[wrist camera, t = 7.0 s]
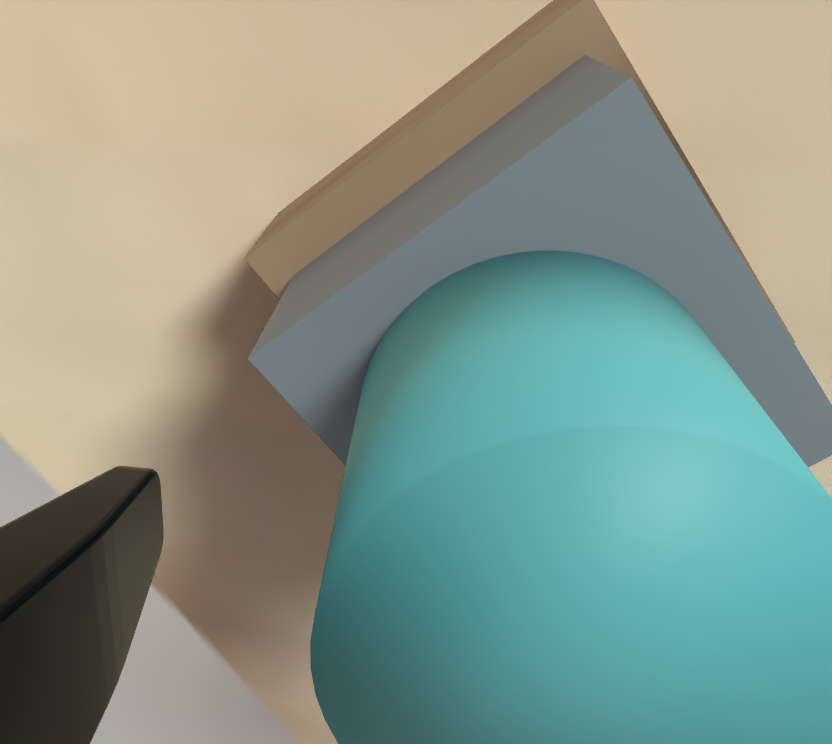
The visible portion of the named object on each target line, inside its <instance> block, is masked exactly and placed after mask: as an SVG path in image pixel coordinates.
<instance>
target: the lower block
mask: <svg viewBox="0 0 832 744" xmlns="http://www.w3.org/2000/svg"><path fill="white" fill-rule="evenodd" d="M584 55H586V56H589V57H591V58H593V59H595V60H597V61H599V62H601V63H603V64H605V65H607V66H610V67H612V68H614V69H616V70H618V71H620V72H622V73H624V74H626V75H628V76H630V77H632V78H633V80H634V82H635V83H636V85H637V87H638V88H639V90H640V92H641V93H642V95H643V97H644V98H645V100H646V101H647V103H648V105H649V106H650V108H651V110H652V111H653V113H654V115H655V116H656V118H657V119H658V121H659V123H660V124H661V126H662V128H663V129H664V131H665V133H666V134H667V136H668V138H669V139H670V141H671V142H672V144H673V146H674V147H675V149H676V151H677V152H678V154H679V156H680V157H681V159H682V160H683V162H684V164H685V165H686V167H687V169H688V170H689V172H690V174H691V175H692V177H693V179H694V180H695V182H696V183H697V185H698V187H699V188H700V190H701V192H702V193H703V195H704V197H705V198H706V200H707V201H708V203H709V205H710V206H711V208H712V210H713V211H714V213H715V215H716V216H717V218H718V220H719V221H720V223H721V224H722V226H723V228H724V229H725V231H726V233H727V234H728V236H729V238H730V239H731V241H732V242H733V244H734V246H735V247H736V249H737V251H738V252H739V254H740V256H741V257H742V259H743V261H744V262H745V264H746V265H747V267H748V269H749V270H750V272H751V274H752V275H753V277H754V279H755V280H756V282H757V284H758V285H759V287H760V288H761V290H762V292H763V293H764V295H765V297H766V298H767V300H768V302H769V303H770V305H771V306H772V308H773V310H774V311H775V313H776V315H777V316H778V318H779V320H780V321H781V323H782V325H783V326H784V328H785V329H786V331H787V333H788V334H789V336H790V338H791V339H792V341H793V343H795V341H794V340H793V338H792V336H791V335H790V333H789V331H788V329H787V328H786V326H785V324H784V323H783V321H782V319H781V318H780V316H779V314H778V312H777V311H776V309H775V307H774V306H773V304H772V302H771V301H770V299H769V297H768V295H767V294H766V292H765V290H764V289H763V287H762V285H761V284H760V282H759V280H758V278H757V277H756V275H755V273H754V272H753V270H752V268H751V267H750V265H749V263H748V261H747V260H746V258H745V256H744V255H743V253H742V251H741V250H740V248H739V246H738V245H737V243H736V241H735V239H734V238H733V236H732V234H731V233H730V231H729V229H728V228H727V226H726V224H725V222H724V221H723V219H722V217H721V216H720V214H719V212H718V211H717V209H716V207H715V205H714V204H713V202H712V200H711V199H710V197H709V195H708V194H707V192H706V190H705V188H704V187H703V185H702V183H701V182H700V180H699V178H698V177H697V175H696V173H695V171H694V170H693V168H692V166H691V165H690V163H689V161H688V160H687V158H686V156H685V155H684V153H683V151H682V149H681V148H680V146H679V144H678V143H677V141H676V139H675V138H674V136H673V134H672V132H671V131H670V129H669V127H668V126H667V124H666V122H665V121H664V119H663V117H662V115H661V114H660V112H659V110H658V109H657V107H656V105H655V104H654V102H653V100H652V98H651V97H650V95H649V93H648V92H647V90H646V88H645V87H644V85H643V83H642V81H641V80H640V78H639V76H638V75H637V73H636V71H635V70H634V68H633V66H632V64H631V63H630V61H629V59H628V58H627V56H626V54H625V53H624V51H623V49H622V48H621V46H620V44H619V42H618V41H617V39H616V37H615V36H614V34H613V32H612V31H611V29H610V27H609V25H608V24H607V22H606V20H605V19H604V17H603V15H602V14H601V12H600V10H599V8H598V7H597V5H596V3H595V2H594V0H553V1H552V2H551V3H549V4H548V5H547V6H545V7H544V8H543V9H541V10H540V11H539V12H538V13H536V14H535V15H534V16H532V17H531V18H530V19H529V20H527V21H526V22H525V23H523V24H522V25H521V26H519V27H518V28H517V29H516V30H514V31H513V32H512V33H510V34H509V35H508V36H507V37H505V38H504V39H503V40H501V41H500V42H499V43H498V44H496V45H495V46H494V47H492V48H491V49H490V50H488V51H487V52H486V53H485V54H483V55H482V56H481V57H479V58H478V59H477V60H476V61H474V62H473V63H472V64H470V65H469V66H468V67H467V68H465V69H464V70H463V71H461V72H460V73H459V74H457V75H456V76H455V77H454V78H452V79H451V80H450V81H448V82H447V83H446V84H445V85H443V86H442V87H441V88H439V89H438V90H437V91H436V92H434V93H433V94H432V95H430V96H429V97H428V98H426V99H425V100H424V101H423V102H421V103H420V104H419V105H417V106H416V107H415V108H414V109H412V110H411V111H410V112H408V113H407V114H406V115H405V116H403V117H402V118H401V119H399V120H398V121H397V122H395V123H394V124H393V125H392V126H390V127H389V128H388V129H386V130H385V131H384V132H383V133H381V134H380V135H379V136H377V137H376V138H375V139H374V140H372V141H371V142H370V143H368V144H367V145H366V146H364V147H363V148H362V149H361V150H359V151H358V152H357V153H355V154H354V155H353V156H352V157H350V158H349V159H348V160H346V161H345V162H344V163H342V164H341V165H340V166H339V167H337V168H336V169H335V170H333V171H332V172H331V173H330V174H328V175H327V176H326V177H324V178H323V179H322V180H321V181H319V182H318V183H317V184H315V185H314V186H313V187H311V188H310V189H309V190H308V191H306V192H305V193H304V194H302V195H301V196H300V197H299V198H297V199H296V200H295V201H293V202H292V203H291V204H290V205H288V206H287V207H286V208H284V209H283V210H282V211H280V212H279V213H278V215H277V216H276V217H275V219H274V220H273V221H272V222H271V224H270V225H269V226H268V228H267V229H266V230H265V232H264V233H263V234H262V236H261V237H260V238H259V240H258V241H257V242H256V244H255V245H254V246H253V248H252V249H251V250H250V252H249V253H248V254H247V255H246V257H245V258H244V259H245V260H246V261H247V263H248V264H249V265H250V266H251V267H252V268H253V270H254V271H255V272H256V273H257V274H258V275H259V277H260V278H261V279H262V280H263V281H264V282H265V284H266V285H267V286H268V287H269V288H270V289H271V291H272V292H273V293H274V294H275V295H276V296H277V298H278V299H279V300H280V299H281V297H282V295H283V293H284V291H285V290H286V288H287V286H288V284H289V282H290V280H291V279H292V277H293V275H295V274H296V273H297V272H299V271H300V270H301V269H303V268H304V267H305V266H307V265H308V264H309V263H310V262H312V261H313V260H314V259H316V258H317V257H318V256H320V255H321V254H322V253H324V252H325V251H326V250H328V249H329V248H330V247H332V246H333V245H334V244H336V243H337V242H338V241H340V240H341V239H342V238H343V237H345V236H346V235H347V234H349V233H350V232H351V231H353V230H354V229H355V228H357V227H358V226H359V225H361V224H362V223H363V222H365V221H366V220H367V219H369V218H370V217H371V216H373V215H374V214H375V213H377V212H378V211H379V210H380V209H382V208H383V207H384V206H386V205H387V204H388V203H390V202H391V201H392V200H394V199H395V198H396V197H398V196H399V195H400V194H402V193H403V192H404V191H406V190H407V189H408V188H410V187H411V186H412V185H413V184H415V183H416V182H417V181H419V180H420V179H421V178H423V177H424V176H425V175H427V174H428V173H429V172H431V171H432V170H433V169H435V168H436V167H437V166H439V165H440V164H441V163H443V162H444V161H445V160H447V159H448V158H449V157H450V156H452V155H453V154H454V153H456V152H457V151H458V150H460V149H461V148H462V147H464V146H465V145H466V144H468V143H469V142H470V141H472V140H473V139H474V138H476V137H477V136H478V135H480V134H481V133H482V132H483V131H485V130H486V129H487V128H489V127H490V126H491V125H493V124H494V123H495V122H497V121H498V120H499V119H501V118H502V117H503V116H505V115H506V114H507V113H509V112H510V111H511V110H513V109H514V108H515V107H517V106H518V105H519V104H520V103H522V102H523V101H524V100H526V99H527V98H528V97H530V96H531V95H532V94H534V93H535V92H536V91H538V90H539V89H540V88H542V87H543V86H544V85H546V84H547V83H548V82H550V81H551V80H552V79H554V78H555V77H556V76H557V75H559V74H560V73H561V72H563V71H564V70H565V69H567V68H568V67H569V66H571V65H572V64H573V63H575V62H576V61H577V60H579V59H580V58H581V57H583V56H584Z"/></svg>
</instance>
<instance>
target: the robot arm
mask: <svg viewBox="0 0 832 744" xmlns="http://www.w3.org/2000/svg"><path fill="white" fill-rule="evenodd" d="M162 544H163V516H162V501H161V485H160V479H159V476H158V474H157V472H156V471H155V470H153V469H148V468H138V467H127V466H117V467H115V468H113V469H111V470H109V471H107V472H105V473H103V474H101V475H99V476H97V477H95V478H93V479H92V480H90V481H88V482H86V483H84V484H82V485H80V486H78V487H76V488H74V489H73V490H71V491H69V492H67V493H65V494H63V495H61V496H59V497H57V498H55V499H53V500H52V501H50V502H48V503H46V504H44V505H42V506H40V507H38V508H37V509H34V510H33V511H31V512H29V513H27V514H25V515H23V516H21V517H19V518H17V519H15V520H14V521H12V522H10V523H8V524H6V525H4V526H2V527H0V744H90V742H91V740H92V738H93V736H94V734H95V732H96V729H97V727H98V725H99V723H100V721H101V719H102V716H103V714H104V712H105V710H106V708H107V706H108V704H109V701H110V699H111V696H112V694H113V692H114V690H115V687H116V685H117V683H118V680H119V677H120V674H121V671H122V669H123V666H124V663H125V660H126V657H127V654H128V651H129V648H130V645H131V642H132V639H133V636H134V633H135V630H136V627H137V624H138V621H139V618H140V615H141V612H142V609H143V606H144V603H145V600H146V597H147V594H148V591H149V588H150V585H151V582H152V579H153V576H154V573H155V569H156V566H157V563H158V560H159V557H160V554H161V550H162Z"/></svg>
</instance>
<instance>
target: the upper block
mask: <svg viewBox="0 0 832 744" xmlns="http://www.w3.org/2000/svg"><path fill="white" fill-rule="evenodd" d="M543 250H553V251H570V252H578V253H583V254H588V255H594V256H599V257H602V258H605V259H608V260H611V261H614V262H617V263H620V264H623V265H625V266H627V267H629V268H631V269H633V270H635V271H637V272H639V273H641V274H643V275H645V276H647V277H648V278H650V279H651V280H653V281H654V282H656V283H657V284H659V285H660V286H662V287H663V288H665V289H666V290H667V291H668V292H669V293H670V294H671V295H672V296H673V297H674V298H676V299H677V300H678V301H679V302H680V303H681V304H682V305H683V306H684V307H685V309H686V310H687V311H688V312H689V314H690V315H691V316H692V317H693V319H694V320H695V321H696V322H697V324H698V325H699V326H700V327H701V329H702V330H703V331H704V333H705V334H706V335H707V337H708V338H709V339H710V341H711V342H712V343H713V344H714V346H715V347H716V348H717V350H718V351H719V352H720V354H721V355H722V356H723V357H724V359H725V360H726V361H727V363H728V364H729V365H730V367H731V368H732V369H733V370H734V372H735V373H736V374H737V376H738V377H739V378H740V380H741V381H742V382H743V384H744V385H745V386H746V387H747V389H748V390H749V391H750V393H751V394H752V395H753V397H754V398H755V399H756V400H757V402H758V403H759V404H760V406H761V407H762V408H763V410H764V411H765V412H766V414H767V415H768V416H769V417H770V419H771V420H772V421H773V423H774V424H775V425H776V427H777V428H778V429H779V430H780V432H781V433H782V434H783V436H784V437H785V438H786V440H787V441H788V442H789V444H790V445H791V446H792V447H793V449H794V450H795V451H796V453H797V454H798V455H799V457H800V458H801V459H802V460H803V462H804V463H805V464H806V466H807V467H810V466H812V465H814V464H816V463H818V462H819V461H821V460H823V459H825V458H827V457H829V456H831V455H832V405H831V403H830V402H829V400H828V398H827V397H826V395H825V393H824V392H823V390H822V388H821V387H820V385H819V384H818V382H817V380H816V379H815V377H814V375H813V374H812V372H811V370H810V369H809V367H808V366H807V364H806V362H805V361H804V359H803V357H802V356H801V354H800V352H799V351H798V349H797V347H796V346H795V344H794V343H793V341H792V339H791V338H790V336H789V334H788V333H787V331H786V329H785V328H784V326H783V325H782V323H781V321H780V320H779V318H778V316H777V315H776V313H775V311H774V310H773V308H772V306H771V305H770V303H769V302H768V300H767V298H766V297H765V295H764V293H763V292H762V290H761V288H760V287H759V285H758V284H757V282H756V280H755V279H754V277H753V275H752V274H751V272H750V270H749V269H748V267H747V265H746V264H745V262H744V261H743V259H742V257H741V256H740V254H739V252H738V251H737V249H736V247H735V246H734V244H733V242H732V241H731V239H730V238H729V236H728V234H727V233H726V231H725V229H724V228H723V226H722V224H721V223H720V221H719V220H718V218H717V216H716V215H715V213H714V211H713V210H712V208H711V206H710V205H709V203H708V201H707V200H706V198H705V197H704V195H703V193H702V192H701V190H700V188H699V187H698V185H697V183H696V182H695V180H694V179H693V177H692V175H691V174H690V172H689V170H688V169H687V167H686V165H685V164H684V162H683V160H682V159H681V157H680V156H679V154H678V152H677V151H676V149H675V147H674V146H673V144H672V142H671V141H670V139H669V138H668V136H667V134H666V133H665V131H664V129H663V128H662V126H661V124H660V123H659V121H658V119H657V118H656V116H655V115H654V113H653V111H652V110H651V108H650V106H649V105H648V103H647V101H646V100H645V98H644V97H643V95H642V93H641V92H640V90H639V88H638V87H637V85H636V83H635V82H634V80H633V78H632V77H630V76H628V75H626V74H624V73H622V72H620V71H618V70H616V69H614V68H612V67H610V66H607V65H605V64H603V63H601V62H599V61H597V60H595V59H593V58H591V57H589V56H586V55H584V56H583V57H581V58H580V59H579V60H577V61H576V62H575V63H573V64H572V65H571V66H569V67H568V68H567V69H565V70H564V71H563V72H561V73H560V74H559V75H557V76H556V77H555V78H554V79H552V80H551V81H550V82H548V83H547V84H546V85H544V86H543V87H542V88H540V89H539V90H538V91H536V92H535V93H534V94H532V95H531V96H530V97H528V98H527V99H526V100H524V101H523V102H522V103H520V104H519V105H518V106H517V107H515V108H514V109H513V110H511V111H510V112H509V113H507V114H506V115H505V116H503V117H502V118H501V119H499V120H498V121H497V122H495V123H494V124H493V125H491V126H490V127H489V128H487V129H486V130H485V131H483V132H482V133H481V134H480V135H478V136H477V137H476V138H474V139H473V140H472V141H470V142H469V143H468V144H466V145H465V146H464V147H462V148H461V149H460V150H458V151H457V152H456V153H454V154H453V155H452V156H450V157H449V158H448V159H447V160H445V161H444V162H443V163H441V164H440V165H439V166H437V167H436V168H435V169H433V170H432V171H431V172H429V173H428V174H427V175H425V176H424V177H423V178H421V179H420V180H419V181H417V182H416V183H415V184H413V185H412V186H411V187H410V188H408V189H407V190H406V191H404V192H403V193H402V194H400V195H399V196H398V197H396V198H395V199H394V200H392V201H391V202H390V203H388V204H387V205H386V206H384V207H383V208H382V209H380V210H379V211H378V212H377V213H375V214H374V215H373V216H371V217H370V218H369V219H367V220H366V221H365V222H363V223H362V224H361V225H359V226H358V227H357V228H355V229H354V230H353V231H351V232H350V233H349V234H347V235H346V236H345V237H343V238H342V239H341V240H340V241H338V242H337V243H336V244H334V245H333V246H332V247H330V248H329V249H328V250H326V251H325V252H324V253H322V254H321V255H320V256H318V257H317V258H316V259H314V260H313V261H312V262H310V263H309V264H308V265H307V266H305V267H304V268H303V269H301V270H300V271H299V272H297V273H296V274H295V275H293V277H292V279H291V280H290V282H289V284H288V286H287V288H286V290H285V291H284V293H283V295H282V297H281V299H280V300H279V302H278V304H277V306H276V308H275V309H274V311H273V313H272V315H271V317H270V319H269V320H268V322H267V324H266V326H265V328H264V329H263V331H262V333H261V335H260V337H259V338H258V340H257V342H256V344H255V346H254V348H253V349H252V351H251V353H250V355H249V357H248V358H247V359H248V360H249V361H250V362H251V363H252V364H253V365H254V366H255V367H256V368H257V370H258V371H259V372H260V373H261V374H262V375H263V376H264V377H265V378H266V379H267V380H268V382H269V383H270V384H271V385H272V386H273V387H274V388H275V389H276V390H277V391H278V392H279V393H280V395H281V396H282V397H283V398H284V399H285V400H286V401H287V402H288V403H289V404H290V405H291V406H292V408H293V409H294V410H295V411H296V412H297V413H298V414H299V415H300V416H301V417H302V418H303V420H304V421H305V422H306V423H307V424H308V425H309V426H310V427H311V428H312V429H313V430H314V431H315V433H316V434H317V435H318V436H319V437H320V438H321V439H322V440H323V441H324V442H325V443H326V444H327V446H328V447H329V448H330V449H331V450H332V451H333V452H334V453H335V454H336V455H337V456H338V458H339V459H340V460H341V461H342V462H343V463H344V464H345V465H346V462H347V458H348V453H349V448H350V443H351V438H352V434H353V429H354V424H355V419H356V414H357V410H358V405H359V400H360V395H361V390H362V386H363V381H364V378H365V375H366V372H367V369H368V366H369V363H370V360H371V358H372V356H373V354H374V352H375V350H376V348H377V346H378V344H379V342H380V340H381V339H382V337H383V336H384V335H385V333H386V332H387V330H388V329H389V327H390V326H391V324H392V323H393V322H394V321H395V319H396V318H397V317H398V316H399V315H400V314H401V313H402V312H403V311H404V310H405V308H406V307H407V306H408V305H409V304H410V303H412V302H413V301H414V300H415V299H416V298H417V297H419V296H420V295H421V294H422V293H423V292H425V291H426V290H427V289H428V288H430V287H432V286H433V285H435V284H436V283H438V282H439V281H441V280H442V279H444V278H446V277H447V276H449V275H451V274H453V273H455V272H457V271H459V270H462V269H464V268H466V267H468V266H470V265H473V264H476V263H479V262H482V261H485V260H488V259H491V258H494V257H498V256H503V255H508V254H513V253H518V252H528V251H543Z"/></svg>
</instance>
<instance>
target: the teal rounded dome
mask: <svg viewBox="0 0 832 744" xmlns="http://www.w3.org/2000/svg"><path fill="white" fill-rule="evenodd" d="M311 672H312V677H313V682H314V688H315V693H316V697H317V699H318V702H319V705H320V707H321V710H322V713H323V716H324V718H325V721H326V722H327V724H328V726H329V728H330V729H331V731H332V733H333V735H334V737H335V738H336V740H337V742H338V743H339V744H832V498H831V497H830V496H829V494H828V493H827V492H826V490H825V489H824V488H823V487H822V485H821V484H820V483H819V481H818V480H817V479H816V477H815V476H814V475H813V473H812V472H811V471H810V470H809V468H808V467H807V466H806V464H805V463H804V462H803V460H802V459H801V458H800V457H799V455H798V454H797V453H796V451H795V450H794V449H793V447H792V446H791V445H790V444H789V442H788V441H787V440H786V438H785V437H784V436H783V434H782V433H781V432H780V430H779V429H778V428H777V427H776V425H775V424H774V423H773V421H772V420H771V419H770V417H769V416H768V415H767V414H766V412H765V411H764V410H763V408H762V407H761V406H760V404H759V403H758V402H757V400H756V399H755V398H754V397H753V395H752V394H751V393H750V391H749V390H748V389H747V387H746V386H745V385H744V384H743V382H742V381H741V380H740V378H739V377H738V376H737V374H736V373H735V372H734V370H733V369H732V368H731V367H730V365H729V364H728V363H727V361H726V360H725V359H724V357H723V356H722V355H721V354H720V352H719V351H718V350H717V348H716V347H715V346H714V344H713V343H712V342H711V341H710V339H709V338H708V337H707V335H706V334H705V333H704V331H703V330H702V329H701V327H700V326H699V325H698V324H697V322H696V321H695V320H694V319H693V317H692V316H691V315H690V314H689V312H688V311H687V310H686V309H685V307H684V306H683V305H682V304H681V303H680V302H679V301H678V300H677V299H676V298H674V297H673V296H672V295H671V294H670V293H669V292H668V291H667V290H666V289H665V288H663V287H662V286H660V285H659V284H657V283H656V282H654V281H653V280H651V279H650V278H648V277H647V276H645V275H643V274H641V273H639V272H637V271H635V270H633V269H631V268H629V267H627V266H625V265H623V264H620V263H617V262H614V261H611V260H608V259H605V258H602V257H599V256H594V255H588V254H583V253H578V252H570V251H553V250H543V251H528V252H518V253H513V254H508V255H503V256H498V257H494V258H491V259H488V260H485V261H482V262H479V263H476V264H473V265H470V266H468V267H466V268H464V269H462V270H459V271H457V272H455V273H453V274H451V275H449V276H447V277H446V278H444V279H442V280H441V281H439V282H438V283H436V284H435V285H433V286H432V287H430V288H428V289H427V290H426V291H425V292H423V293H422V294H421V295H420V296H419V297H417V298H416V299H415V300H414V301H413V302H412V303H410V304H409V305H408V306H407V307H406V308H405V310H404V311H403V312H402V313H401V314H400V315H399V316H398V317H397V318H396V319H395V321H394V322H393V323H392V324H391V326H390V327H389V329H388V330H387V332H386V333H385V335H384V336H383V337H382V339H381V340H380V342H379V344H378V346H377V348H376V350H375V352H374V354H373V356H372V358H371V360H370V363H369V366H368V369H367V372H366V375H365V378H364V381H363V386H362V390H361V395H360V400H359V405H358V410H357V414H356V419H355V424H354V429H353V434H352V438H351V443H350V448H349V453H348V458H347V462H346V467H345V472H344V477H343V482H342V486H341V491H340V496H339V501H338V505H337V510H336V515H335V520H334V525H333V529H332V534H331V539H330V544H329V549H328V553H327V558H326V563H325V568H324V573H323V577H322V582H321V587H320V592H319V597H318V601H317V606H316V611H315V617H314V623H313V629H312V635H311Z"/></svg>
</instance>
